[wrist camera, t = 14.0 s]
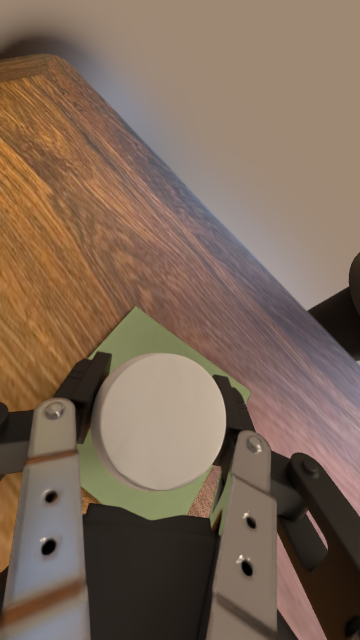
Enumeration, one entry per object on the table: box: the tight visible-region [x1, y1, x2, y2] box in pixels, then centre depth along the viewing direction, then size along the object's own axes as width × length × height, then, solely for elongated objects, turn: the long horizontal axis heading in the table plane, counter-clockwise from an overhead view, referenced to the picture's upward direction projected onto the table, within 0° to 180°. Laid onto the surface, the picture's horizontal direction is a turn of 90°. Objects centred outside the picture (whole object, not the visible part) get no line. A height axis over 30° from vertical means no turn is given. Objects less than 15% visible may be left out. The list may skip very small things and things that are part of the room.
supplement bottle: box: [91, 353, 226, 492], centre depth 12 cm, size 5×5×10 cm
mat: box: [52, 306, 251, 520], centre depth 18 cm, size 12×12×1 cm
